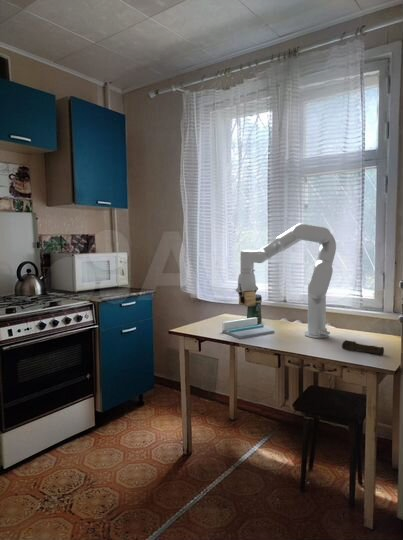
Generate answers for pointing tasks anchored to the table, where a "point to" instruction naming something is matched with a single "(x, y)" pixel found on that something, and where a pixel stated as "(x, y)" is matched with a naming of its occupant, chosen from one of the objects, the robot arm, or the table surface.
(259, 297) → the coffee jar
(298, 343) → the table surface
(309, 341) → the table surface
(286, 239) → the robot arm
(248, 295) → the oak block
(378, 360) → the table surface
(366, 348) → the hand tool
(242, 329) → the cleat board
